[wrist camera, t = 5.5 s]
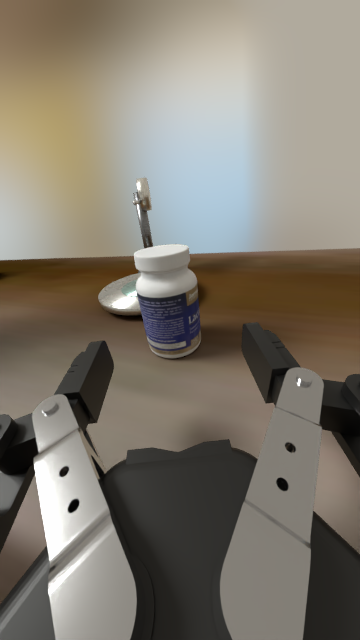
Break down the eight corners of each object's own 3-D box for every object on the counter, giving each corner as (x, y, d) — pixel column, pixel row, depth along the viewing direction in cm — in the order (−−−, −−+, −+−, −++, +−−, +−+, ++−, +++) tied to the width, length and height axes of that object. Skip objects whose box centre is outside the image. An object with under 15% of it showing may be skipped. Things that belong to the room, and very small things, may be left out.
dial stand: (135, 287, 38) (108, 177, 29) (141, 270, 46) (122, 182, 38) (167, 283, 38) (149, 171, 29) (167, 267, 46) (153, 178, 38)
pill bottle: (205, 356, 20) (199, 252, 14) (147, 364, 20) (120, 263, 14) (197, 325, 25) (190, 239, 19) (151, 331, 25) (131, 246, 19)
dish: (89, 327, 27) (83, 314, 26) (114, 286, 40) (111, 275, 39) (200, 313, 27) (199, 299, 26) (189, 276, 40) (188, 265, 38)
